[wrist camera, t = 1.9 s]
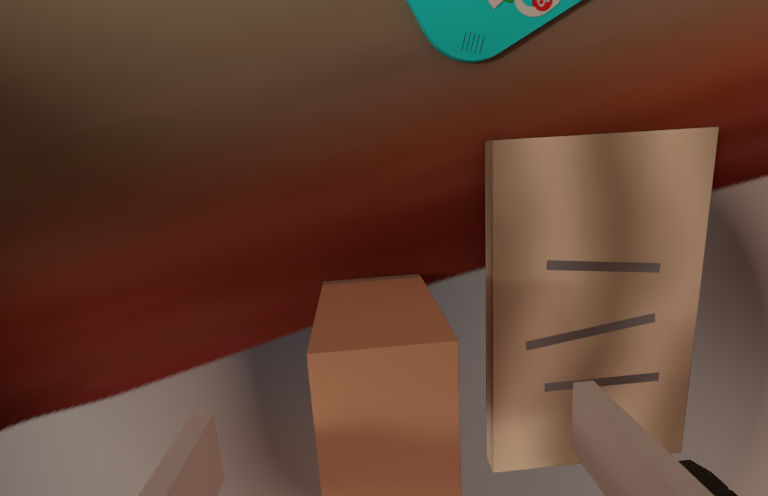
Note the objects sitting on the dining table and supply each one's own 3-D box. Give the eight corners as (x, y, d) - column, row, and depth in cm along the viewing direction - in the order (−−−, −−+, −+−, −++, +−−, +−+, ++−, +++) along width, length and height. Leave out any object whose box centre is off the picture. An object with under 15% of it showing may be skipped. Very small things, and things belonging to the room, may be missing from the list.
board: (486, 457, 24) (493, 473, 23) (485, 141, 20) (493, 140, 19) (665, 438, 25) (681, 452, 24) (698, 128, 21) (719, 126, 20)
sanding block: (334, 402, 23) (325, 531, 15) (323, 281, 21) (306, 354, 13) (424, 393, 23) (461, 515, 15) (419, 273, 21) (457, 340, 14)
